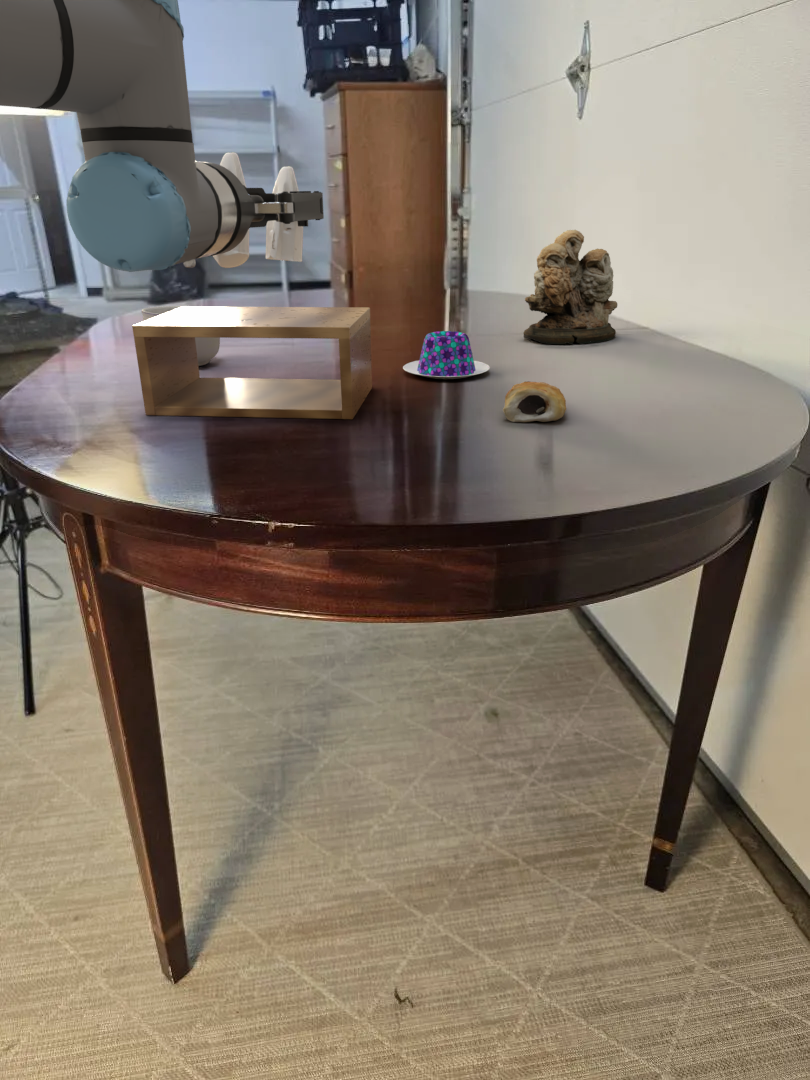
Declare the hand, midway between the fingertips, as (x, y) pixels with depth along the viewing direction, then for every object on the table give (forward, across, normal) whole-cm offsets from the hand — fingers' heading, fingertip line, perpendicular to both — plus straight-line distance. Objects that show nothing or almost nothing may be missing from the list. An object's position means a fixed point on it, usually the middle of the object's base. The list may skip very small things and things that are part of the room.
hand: (268, 204), depth 86 cm
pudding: (+16, +19, -22) cm, 33 cm away
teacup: (+17, -19, -22) cm, 34 cm away
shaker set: (-5, 0, -6) cm, 8 cm away
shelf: (-1, -2, -22) cm, 22 cm away
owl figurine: (+44, +38, -22) cm, 62 cm away
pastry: (-5, +30, -22) cm, 38 cm away
